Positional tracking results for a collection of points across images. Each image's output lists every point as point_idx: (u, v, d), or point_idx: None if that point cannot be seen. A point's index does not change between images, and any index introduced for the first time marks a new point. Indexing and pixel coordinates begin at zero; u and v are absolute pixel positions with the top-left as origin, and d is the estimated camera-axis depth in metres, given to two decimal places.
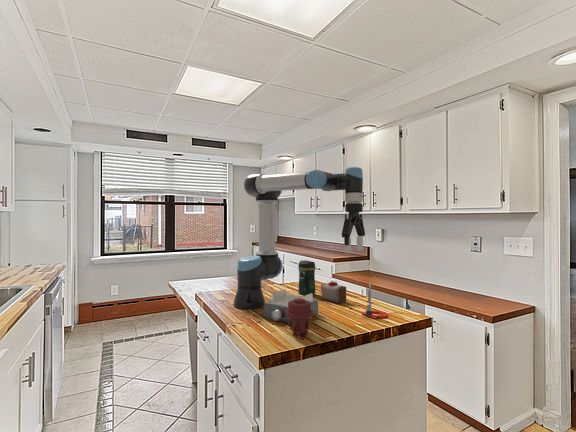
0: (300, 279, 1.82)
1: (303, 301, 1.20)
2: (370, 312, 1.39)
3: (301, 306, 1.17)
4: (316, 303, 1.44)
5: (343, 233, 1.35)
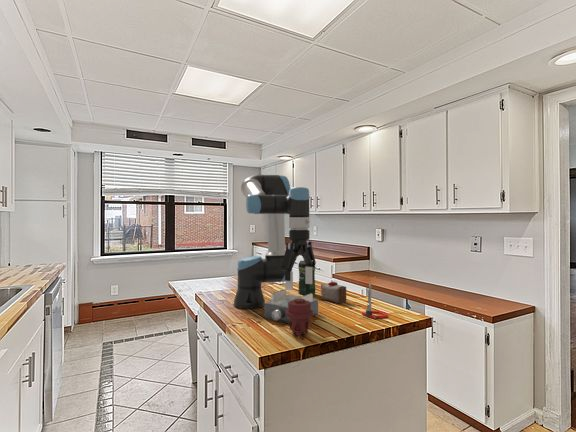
0: (300, 279, 1.82)
1: (303, 301, 1.20)
2: (370, 312, 1.39)
3: (301, 306, 1.17)
4: (316, 303, 1.44)
5: (283, 267, 1.13)
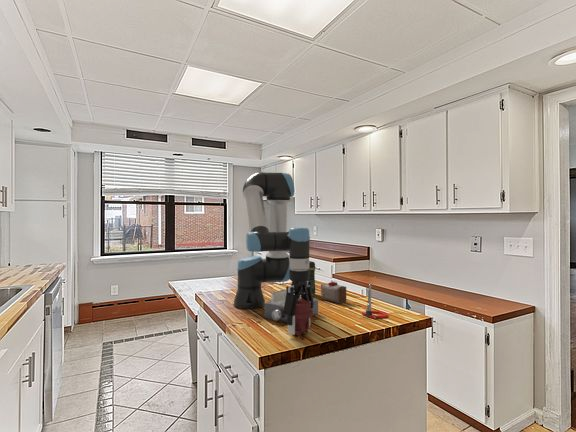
0: None
1: (303, 301, 1.20)
2: (370, 312, 1.39)
3: (301, 306, 1.17)
4: (316, 303, 1.44)
5: (285, 312, 1.14)
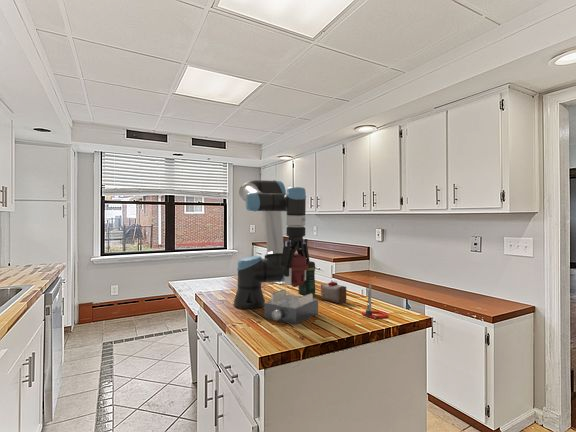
0: None
1: (299, 255, 1.29)
2: (370, 312, 1.39)
3: (297, 259, 1.26)
4: (316, 303, 1.44)
5: (282, 264, 1.23)
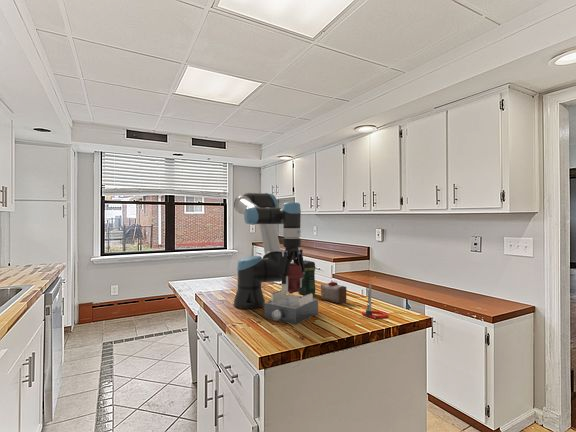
0: None
1: (295, 264, 1.41)
2: (370, 312, 1.39)
3: (293, 268, 1.38)
4: (316, 303, 1.44)
5: (279, 272, 1.35)
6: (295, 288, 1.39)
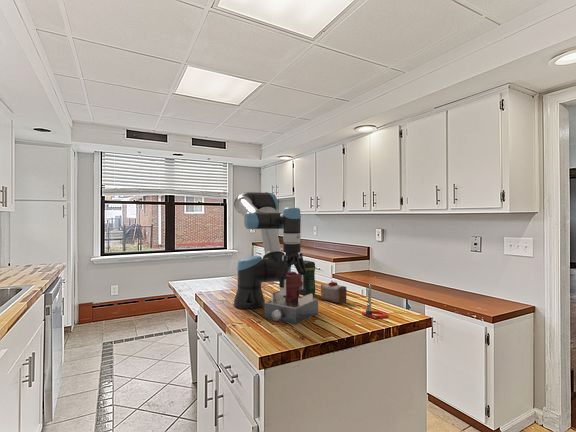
0: None
1: (294, 273, 1.41)
2: (370, 312, 1.39)
3: (293, 276, 1.38)
4: (316, 303, 1.44)
5: (277, 276, 1.34)
6: (294, 297, 1.39)
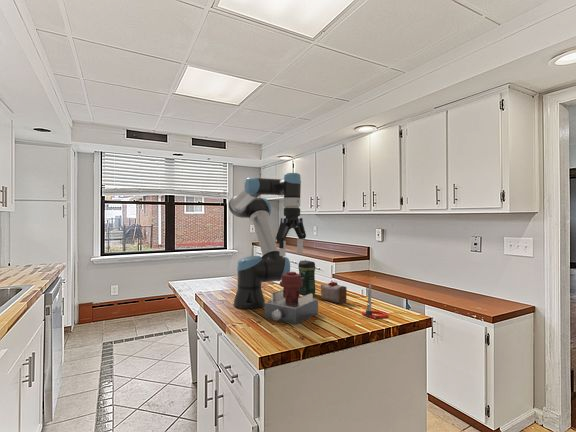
0: None
1: (294, 273, 1.41)
2: (370, 312, 1.39)
3: (293, 277, 1.38)
4: (316, 303, 1.44)
5: (277, 237, 1.40)
6: (294, 297, 1.39)
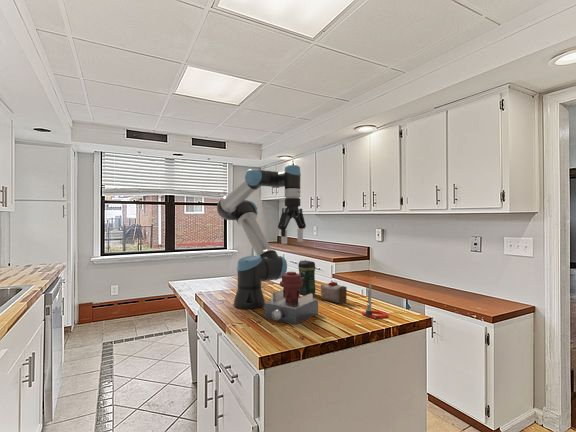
0: None
1: (294, 273, 1.41)
2: (370, 312, 1.39)
3: (293, 277, 1.38)
4: (316, 303, 1.44)
5: (279, 225, 1.47)
6: (294, 297, 1.39)
